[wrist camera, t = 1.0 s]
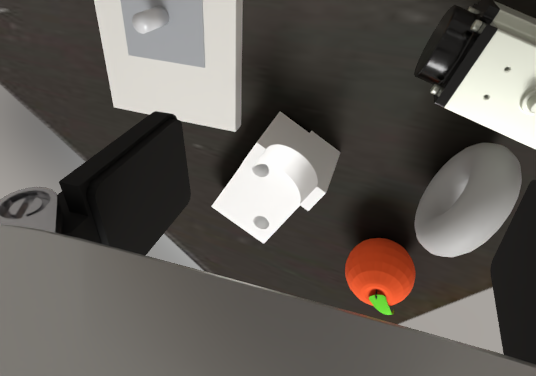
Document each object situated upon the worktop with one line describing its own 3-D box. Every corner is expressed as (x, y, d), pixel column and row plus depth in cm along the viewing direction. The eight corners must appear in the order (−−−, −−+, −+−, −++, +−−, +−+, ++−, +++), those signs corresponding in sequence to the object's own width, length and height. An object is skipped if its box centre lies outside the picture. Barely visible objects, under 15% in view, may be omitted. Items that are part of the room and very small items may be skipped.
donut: (437, 213, 39) (441, 288, 31) (407, 195, 39) (403, 266, 31) (519, 136, 32) (549, 205, 25) (483, 114, 32) (501, 177, 25)
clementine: (428, 274, 43) (429, 327, 37) (367, 283, 47) (360, 333, 41) (402, 217, 40) (399, 265, 35) (340, 231, 44) (327, 277, 38)
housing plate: (82, -131, 32) (35, -138, 28) (244, -124, 29) (216, -130, 25) (122, 102, 43) (92, 119, 40) (240, 125, 40) (221, 147, 36)
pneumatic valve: (554, 108, 31) (611, 192, 21) (414, 45, 31) (410, 100, 22) (614, 39, 27) (715, 103, 18) (456, -29, 28) (473, -2, 18)
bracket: (282, 107, 38) (256, 142, 32) (341, 150, 39) (326, 193, 33) (224, 189, 46) (194, 229, 40) (273, 224, 47) (251, 269, 41)
